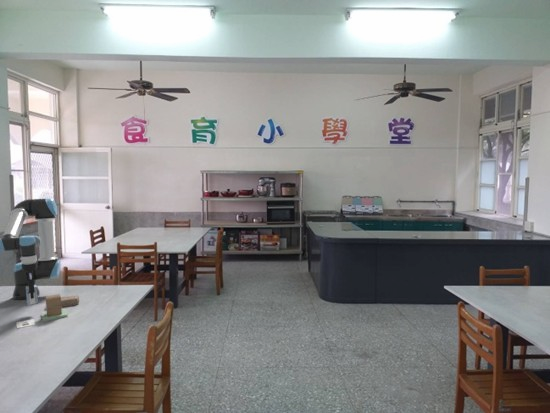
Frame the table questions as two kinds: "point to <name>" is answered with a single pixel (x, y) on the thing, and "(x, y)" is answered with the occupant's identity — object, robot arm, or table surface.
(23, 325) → the page
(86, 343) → the table surface
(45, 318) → the pad
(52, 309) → the walnut block
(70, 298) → the brick
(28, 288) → the bluegrey block
